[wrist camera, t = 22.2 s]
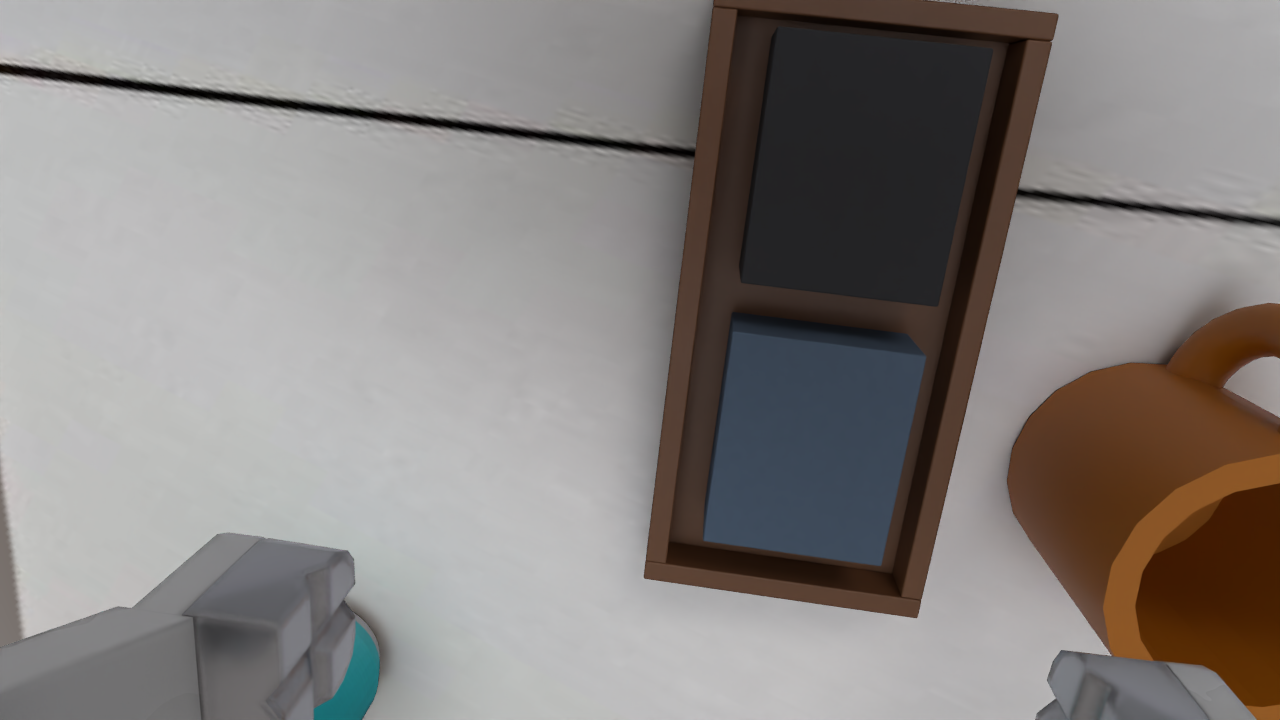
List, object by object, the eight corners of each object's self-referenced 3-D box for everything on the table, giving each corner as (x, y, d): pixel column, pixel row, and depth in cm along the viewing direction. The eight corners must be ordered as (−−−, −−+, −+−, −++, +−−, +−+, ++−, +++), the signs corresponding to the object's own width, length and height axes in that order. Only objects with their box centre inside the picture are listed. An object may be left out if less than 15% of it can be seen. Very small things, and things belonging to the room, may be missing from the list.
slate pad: (731, 311, 31) (732, 331, 28) (907, 333, 30) (927, 356, 28) (704, 504, 33) (702, 541, 30) (867, 527, 33) (881, 567, 30)
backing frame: (716, -10, 28) (716, -21, 26) (1032, 21, 28) (1060, 13, 25) (648, 548, 35) (643, 579, 32) (904, 585, 34) (917, 619, 32)
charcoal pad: (771, 34, 28) (777, 25, 25) (966, 55, 28) (994, 47, 25) (738, 267, 30) (740, 283, 27) (917, 289, 30) (938, 307, 27)
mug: (1366, 362, 30) (1628, 462, 21) (1147, 610, 33) (1296, 783, 25) (1156, 240, 29) (1337, 291, 21) (957, 504, 33) (1040, 643, 24)
